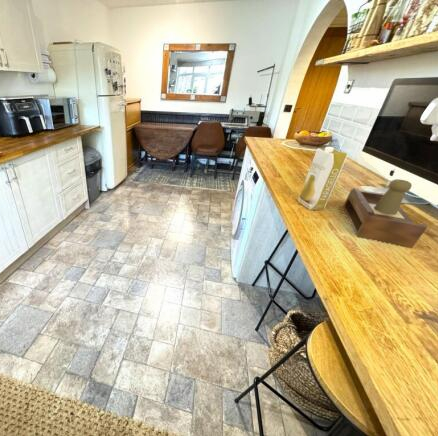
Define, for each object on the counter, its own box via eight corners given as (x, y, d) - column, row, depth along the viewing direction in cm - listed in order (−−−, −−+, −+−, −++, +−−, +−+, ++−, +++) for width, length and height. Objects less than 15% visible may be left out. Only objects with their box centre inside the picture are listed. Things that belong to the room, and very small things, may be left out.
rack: (386, 214, 93) (398, 193, 88) (411, 248, 74) (429, 224, 70) (342, 206, 98) (352, 186, 94) (357, 237, 80) (370, 213, 75)
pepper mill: (400, 215, 80) (420, 185, 74) (378, 213, 81) (396, 182, 76) (391, 207, 84) (409, 178, 79) (370, 205, 86) (386, 176, 80)
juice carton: (294, 201, 103) (314, 144, 90) (311, 200, 103) (334, 144, 91) (309, 211, 95) (333, 151, 82) (327, 210, 95) (354, 150, 83)
